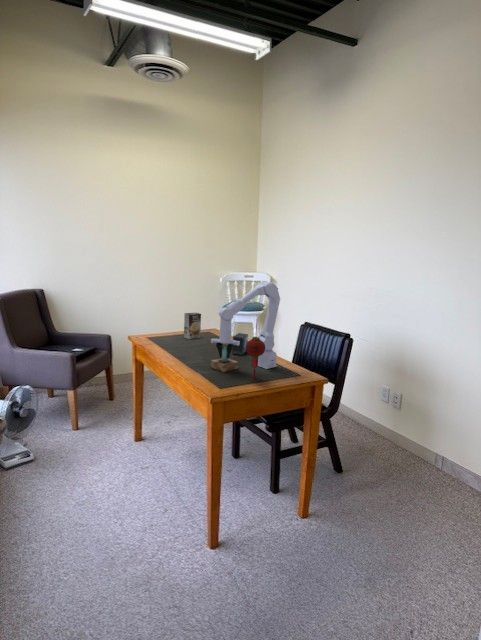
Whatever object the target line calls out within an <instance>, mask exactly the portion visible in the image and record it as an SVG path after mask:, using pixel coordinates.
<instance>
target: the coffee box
mask: <svg viewBox="0 0 481 640" xmlns="http://www.w3.org/2000/svg"><path fill="white" fill-rule="evenodd" d="M183 319H184V324H183V326H184V327H183V338H185V339H187V340H193V339H200V338H201V331H202V314H201V313H199V312H185V313H184V317H183Z"/></svg>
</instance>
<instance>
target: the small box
mask: <svg viewBox="0 0 481 640" xmlns="http://www.w3.org/2000/svg"><path fill="white" fill-rule="evenodd" d="M232 340H235V341H240V345H239V346H237V345H234V346H233V348H232V350H231V354H232V355H238V356H243V355H244V354H246V353H247V351H246V344H247V342H248V341H249V334H248V333H247V334H246V333H242V332H241V333H240V332H238V333H237V334H234V335H233V336H232Z"/></svg>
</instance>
